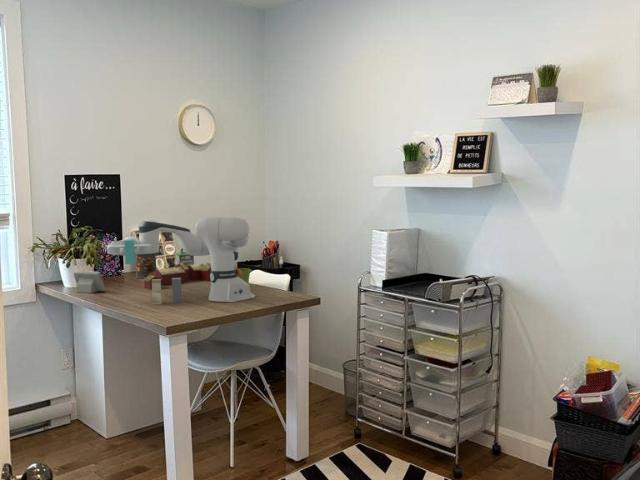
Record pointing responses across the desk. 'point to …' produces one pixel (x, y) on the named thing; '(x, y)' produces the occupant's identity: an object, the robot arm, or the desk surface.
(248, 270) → the plant pot
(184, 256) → the chalk box
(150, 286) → the toy houses
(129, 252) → the teal post
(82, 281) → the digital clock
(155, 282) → the birch post
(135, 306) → the desk surface
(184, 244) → the robot arm
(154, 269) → the jar
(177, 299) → the charcoal post
